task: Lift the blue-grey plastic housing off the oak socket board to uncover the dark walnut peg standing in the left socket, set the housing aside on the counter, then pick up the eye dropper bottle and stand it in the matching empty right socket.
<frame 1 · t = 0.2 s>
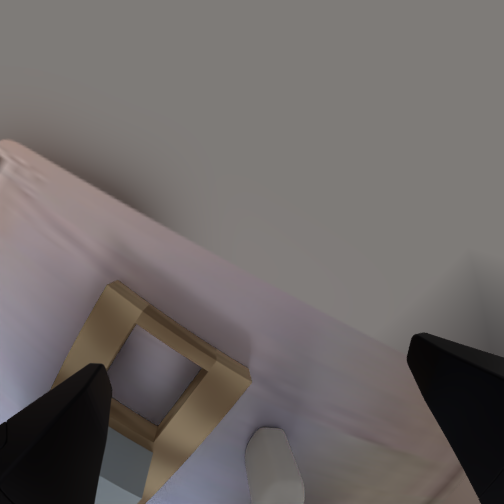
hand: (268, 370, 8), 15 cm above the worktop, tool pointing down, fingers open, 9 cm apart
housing: (93, 462, 20), point 2 cm above the worktop, touching socket board
socket board: (122, 415, 23), on the worktop
eye dropper bottle: (264, 448, 25), on the worktop
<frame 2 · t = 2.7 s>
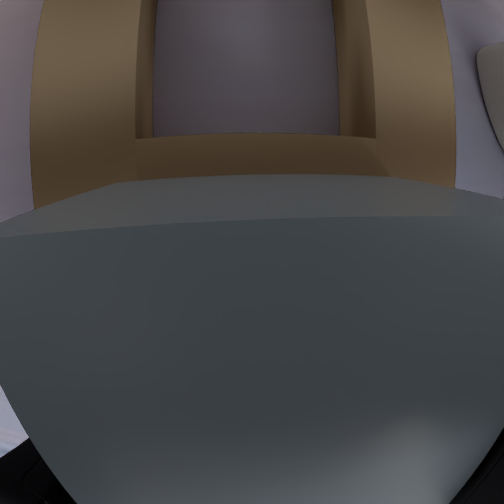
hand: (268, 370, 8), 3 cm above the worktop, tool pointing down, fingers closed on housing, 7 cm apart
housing: (264, 355, 9), point 2 cm above the worktop, touching gripper, socket board
socket board: (250, 170, 10), on the worktop
eye dropper bottle: (499, 103, 10), on the worktop
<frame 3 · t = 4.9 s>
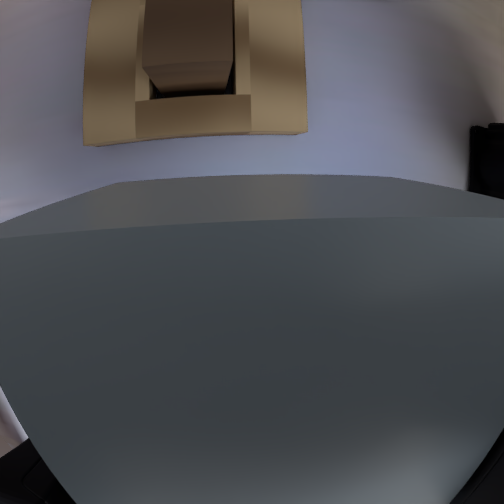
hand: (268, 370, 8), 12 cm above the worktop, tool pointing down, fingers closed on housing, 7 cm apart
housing: (264, 355, 9), point 12 cm above the worktop, touching gripper
walnut peg: (194, 58, 16), resting in socket board
when the fingers open (2 cm above the worktop, at t = 7.0 s): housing drops 1 cm, on the worktop.
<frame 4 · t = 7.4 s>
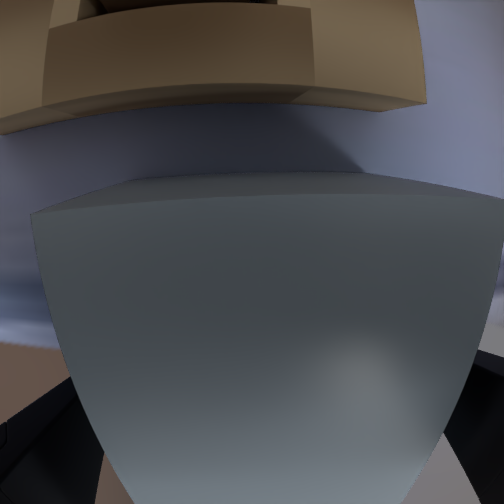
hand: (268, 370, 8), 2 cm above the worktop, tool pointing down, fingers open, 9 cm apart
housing: (257, 330, 10), on the worktop
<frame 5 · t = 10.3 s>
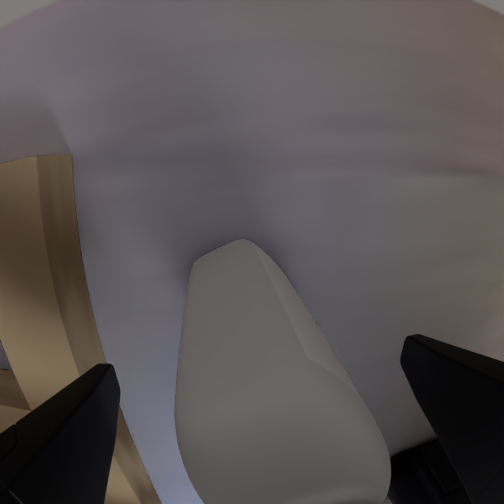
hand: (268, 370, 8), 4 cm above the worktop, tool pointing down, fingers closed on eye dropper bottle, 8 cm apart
socket board: (12, 386, 11), on the worktop
eye dropper bottle: (250, 308, 12), on the worktop, touching gripper
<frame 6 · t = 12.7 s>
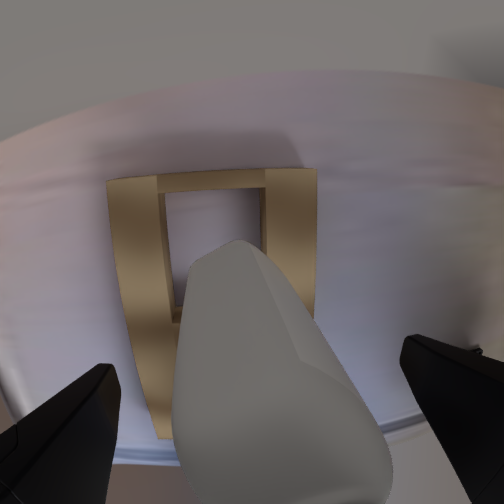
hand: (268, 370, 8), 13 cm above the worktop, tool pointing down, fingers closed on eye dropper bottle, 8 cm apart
socket board: (219, 316, 22), on the worktop
eye dropper bottle: (250, 308, 12), point 10 cm above the worktop, touching gripper
when the fingers open (5 cm above the worktop, at t = 15.0 s): eye dropper bottle drops 1 cm, resting in socket board.
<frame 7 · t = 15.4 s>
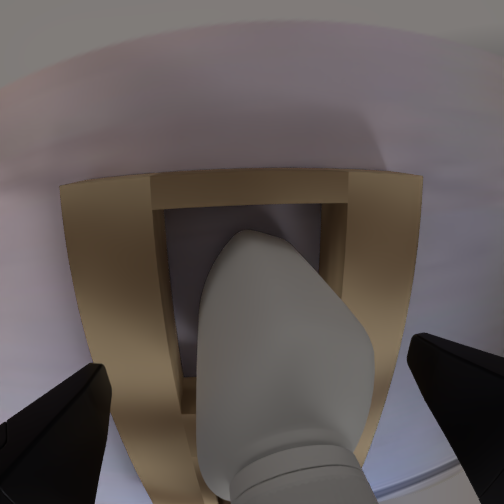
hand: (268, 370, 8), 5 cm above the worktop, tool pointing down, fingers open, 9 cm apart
socket board: (249, 389, 14), on the worktop
eye dropper bottle: (243, 294, 13), resting in socket board
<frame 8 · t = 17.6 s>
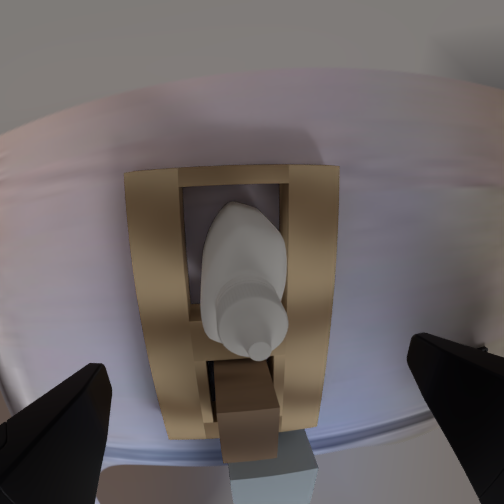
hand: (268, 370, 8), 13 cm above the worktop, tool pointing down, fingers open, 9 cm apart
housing: (263, 458, 27), on the worktop
socket board: (235, 314, 22), on the worktop
eye dropper bottle: (231, 244, 21), resting in socket board
walnut peg: (238, 371, 23), resting in socket board
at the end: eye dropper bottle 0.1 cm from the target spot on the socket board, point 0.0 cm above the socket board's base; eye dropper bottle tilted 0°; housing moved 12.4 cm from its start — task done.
